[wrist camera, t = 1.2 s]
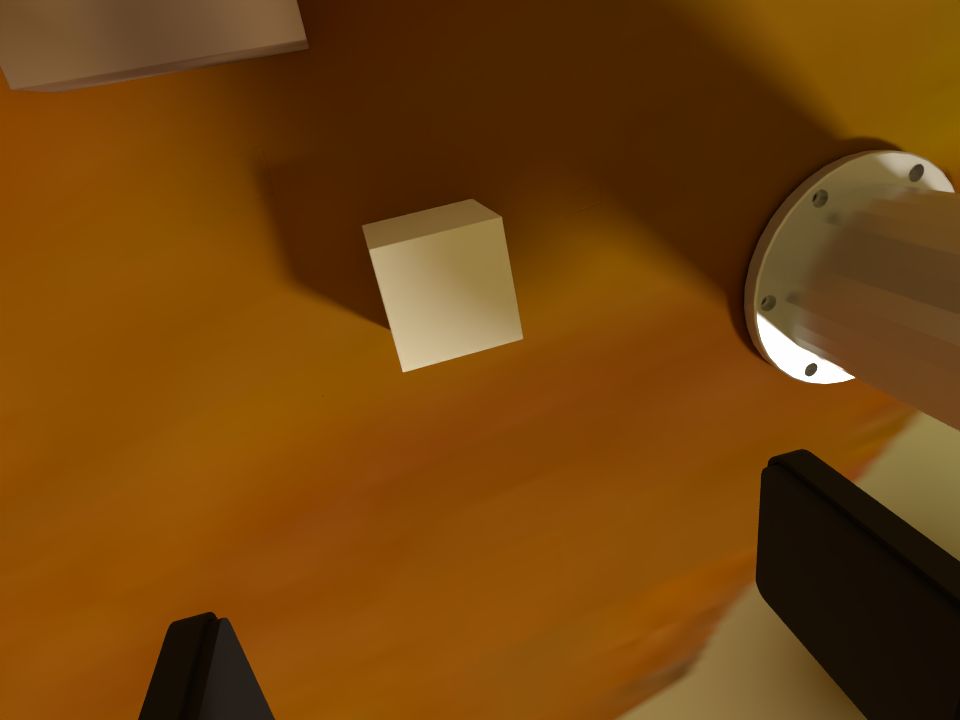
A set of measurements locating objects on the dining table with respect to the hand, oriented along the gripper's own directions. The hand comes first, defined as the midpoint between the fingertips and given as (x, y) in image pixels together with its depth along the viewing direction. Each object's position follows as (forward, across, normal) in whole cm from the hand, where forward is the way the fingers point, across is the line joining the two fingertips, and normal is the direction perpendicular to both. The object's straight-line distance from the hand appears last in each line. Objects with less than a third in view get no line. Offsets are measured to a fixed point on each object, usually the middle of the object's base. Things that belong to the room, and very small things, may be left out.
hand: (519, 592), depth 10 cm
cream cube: (+19, -1, -1) cm, 19 cm away
